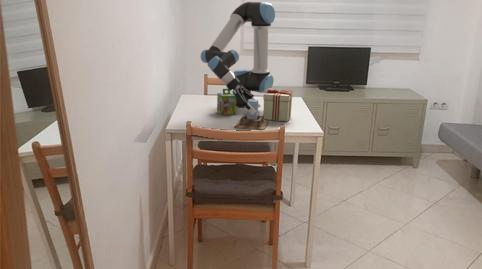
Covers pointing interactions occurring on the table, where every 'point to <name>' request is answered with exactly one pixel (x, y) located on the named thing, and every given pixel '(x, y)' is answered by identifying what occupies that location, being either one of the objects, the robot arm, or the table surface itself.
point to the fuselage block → (255, 106)
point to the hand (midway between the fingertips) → (256, 110)
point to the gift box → (277, 104)
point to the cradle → (252, 123)
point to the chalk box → (226, 103)
